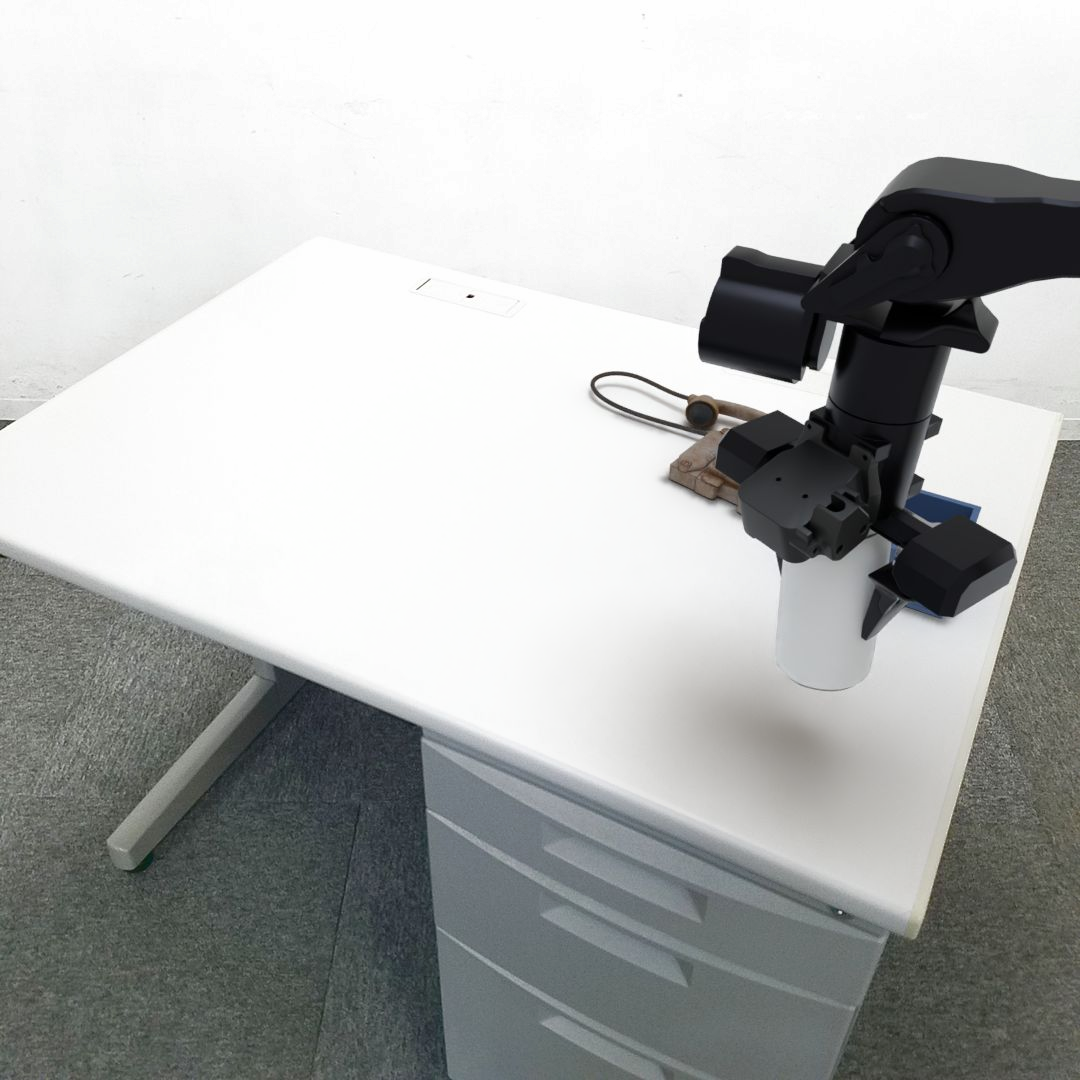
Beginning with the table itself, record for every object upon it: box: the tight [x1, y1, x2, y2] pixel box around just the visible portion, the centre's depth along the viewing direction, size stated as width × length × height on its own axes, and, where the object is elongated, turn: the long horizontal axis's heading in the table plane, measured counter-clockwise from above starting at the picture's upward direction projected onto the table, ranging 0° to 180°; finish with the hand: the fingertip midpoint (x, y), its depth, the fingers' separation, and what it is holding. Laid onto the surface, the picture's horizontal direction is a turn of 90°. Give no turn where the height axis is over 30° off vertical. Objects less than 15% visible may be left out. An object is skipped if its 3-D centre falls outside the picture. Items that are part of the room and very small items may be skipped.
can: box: [774, 529, 891, 692], centre depth 63 cm, size 6×6×12 cm
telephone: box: [589, 370, 768, 515], centre depth 102 cm, size 15×33×4 cm, turn 49°
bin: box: [889, 489, 982, 619], centre depth 86 cm, size 10×10×6 cm
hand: (826, 607), depth 64 cm, fingers closed on can, 6 cm apart
